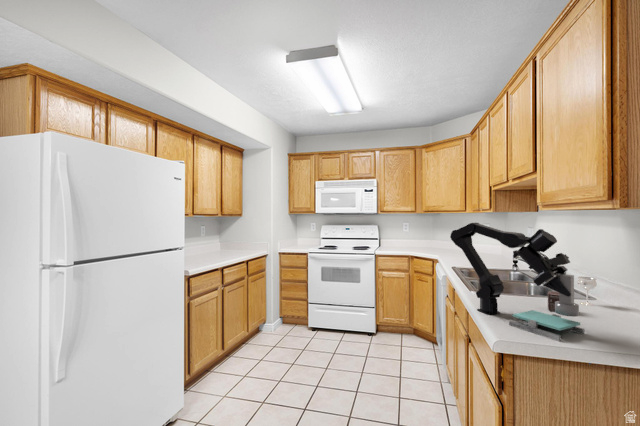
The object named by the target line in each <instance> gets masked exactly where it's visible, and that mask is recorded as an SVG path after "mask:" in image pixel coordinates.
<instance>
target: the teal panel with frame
mask: <svg viewBox="0 0 640 426" xmlns="http://www.w3.org/2000/svg"><path fill="white" fill-rule="evenodd" d="M551 315H553V316H557V317H560V318H562V315H560V314H556V313H555V314H554V313H552V314H551ZM508 325H509V326H512V327H515V328H518V329H521V330H523V331H526V332H530V333H533V334H536V335H538V336H542V337H546V338H548V339H551V340H554V341H558V342H561V340H562V335H561V334H558V333H554V332H552V331H549V330H546V329H541V328H539V327H538V326H539V324H538V321H534V320H531V319H530V320H529V321H528V324H526V323H524V322H520V321H516V320H514V319H509V320H508ZM565 330H567V331H571V332H572V333H573V332H574V333H576V334H581V335H584V334H585V328H584V327H579V326H575V327H571V328H567V329H565Z"/></svg>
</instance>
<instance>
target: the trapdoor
mask: <svg viewBox="0 0 640 426" xmlns="http://www.w3.org/2000/svg"><path fill="white" fill-rule="evenodd" d="M512 317H513V318H517V319H518V320H519V321H522V322H529V320H530V319H531V320H534V321H538V326H539V325H540V326H543V327H546V328H550V329H554V330H557V331H563V330H566V329H567V328H571V327H575V326H577V327H579V326H581V322H578V321H576V320H571V319H567V318H563V317H561V318H560V317H557V316H553V315H552V314H549V313H546V312H545V313H544V312H542V311H537V310H533V309H532V310H527V311H524V312H518V313H513V314H512Z"/></svg>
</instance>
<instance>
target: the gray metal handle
mask: <svg viewBox="0 0 640 426" xmlns="http://www.w3.org/2000/svg"><path fill="white" fill-rule="evenodd" d="M560 282H561V283H562V284H563V285H564V286H565V288H566V289H567V290H568V291H569V293H570V294H571V296H569V297H568V296H566V295H563V294H561V293H559V292H558V293H559V301H555V312H554V313H555V314H556V315H559V316H565V317H579V316H580V308H579V307H580V304H578V303H576V302H575V276H574V275H573V274H567V273H566V274H561V275H560Z"/></svg>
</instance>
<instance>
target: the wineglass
mask: <svg viewBox="0 0 640 426" xmlns="http://www.w3.org/2000/svg"><path fill="white" fill-rule="evenodd" d="M577 278H578V279H577V284H578V286H579V287H580V288H581V289H583V290H585V293H586V302H585V301H584V302H581V303H580V304H581V305H583V306H587V307H588V306H589V307H595V304H593V303H591V302H589V291H590V290H593V289H595V288H596V287H597V285H598V284H597V278H594V277H589V276H577ZM580 304H579V305H580Z"/></svg>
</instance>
